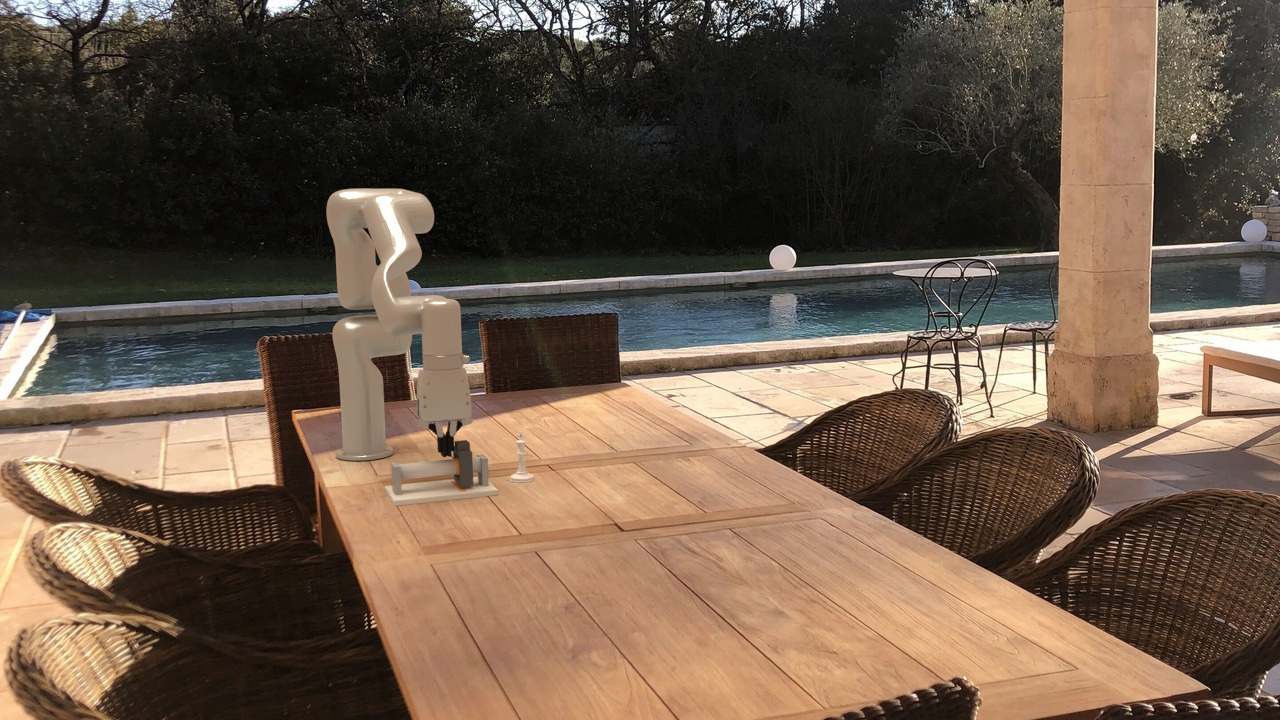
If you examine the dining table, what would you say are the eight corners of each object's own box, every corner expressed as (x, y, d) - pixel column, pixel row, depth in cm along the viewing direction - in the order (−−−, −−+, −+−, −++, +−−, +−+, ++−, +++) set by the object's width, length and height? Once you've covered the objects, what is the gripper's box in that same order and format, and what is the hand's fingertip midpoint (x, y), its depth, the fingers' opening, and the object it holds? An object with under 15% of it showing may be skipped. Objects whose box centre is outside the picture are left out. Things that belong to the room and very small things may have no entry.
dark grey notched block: (461, 487, 218) (459, 446, 217) (454, 479, 224) (452, 439, 223) (473, 486, 219) (471, 444, 218) (465, 478, 225) (464, 438, 224)
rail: (394, 506, 211) (392, 471, 210) (384, 491, 222) (383, 458, 221) (498, 494, 218) (497, 461, 217) (484, 480, 229) (482, 449, 228)
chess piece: (530, 483, 227) (528, 434, 226) (506, 482, 228) (505, 433, 227) (537, 477, 232) (536, 429, 231) (514, 476, 233) (513, 429, 232)
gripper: (476, 358, 223) (479, 448, 226) (400, 362, 218) (404, 455, 220) (485, 363, 216) (488, 456, 219) (406, 368, 211) (410, 463, 214)
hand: (446, 455), depth 220 cm, fingers closed
